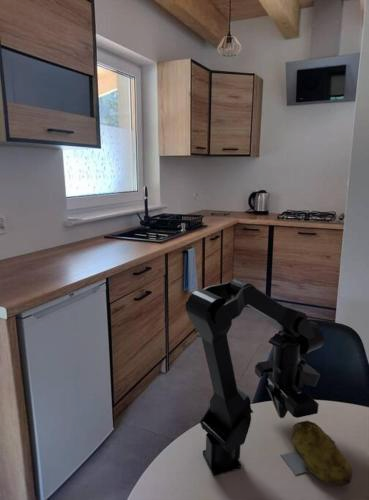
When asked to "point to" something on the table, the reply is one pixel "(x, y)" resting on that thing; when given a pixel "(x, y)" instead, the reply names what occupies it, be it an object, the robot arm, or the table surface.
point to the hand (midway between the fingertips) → (281, 417)
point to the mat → (295, 463)
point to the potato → (320, 454)
